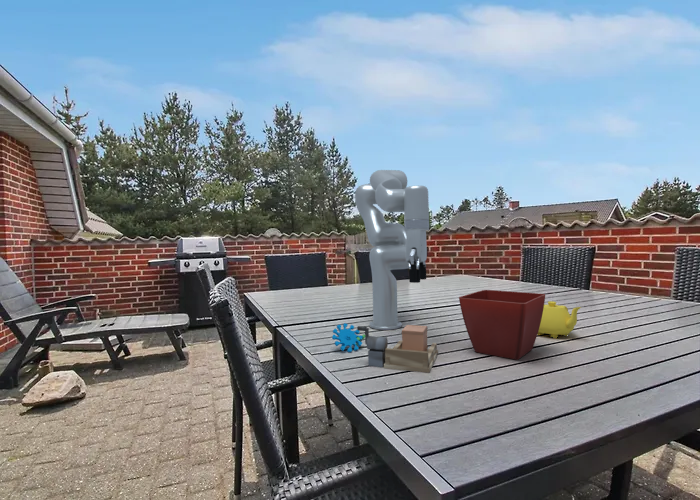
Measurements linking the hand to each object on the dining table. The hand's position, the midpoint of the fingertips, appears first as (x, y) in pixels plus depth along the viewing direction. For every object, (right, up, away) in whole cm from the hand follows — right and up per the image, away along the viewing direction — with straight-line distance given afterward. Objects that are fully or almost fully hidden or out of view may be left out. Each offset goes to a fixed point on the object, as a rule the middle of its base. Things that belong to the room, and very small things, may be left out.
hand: (418, 280), depth 118 cm
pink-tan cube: (-2, -20, -8) cm, 22 cm away
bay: (-7, -22, -10) cm, 25 cm away
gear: (-22, -22, +1) cm, 31 cm away
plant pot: (+24, -21, -5) cm, 33 cm away
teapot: (+49, -20, +13) cm, 54 cm away
